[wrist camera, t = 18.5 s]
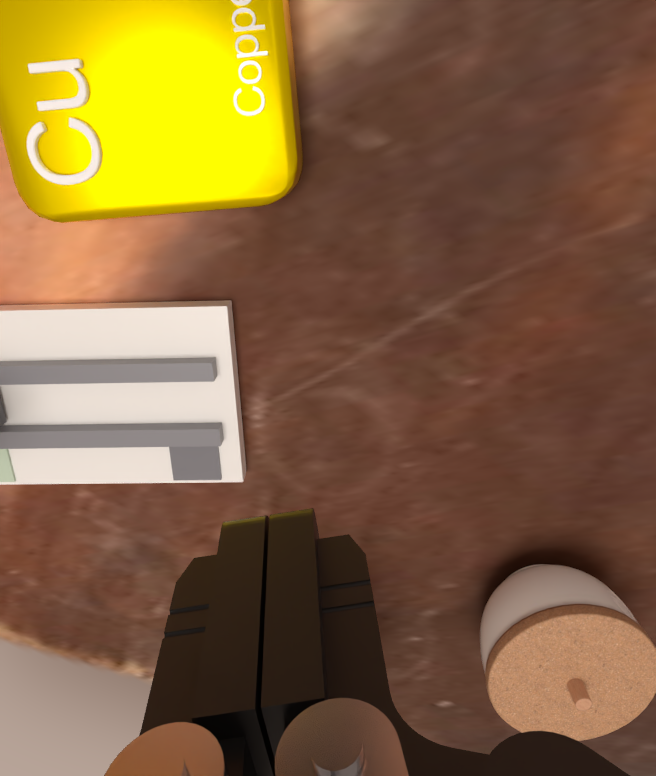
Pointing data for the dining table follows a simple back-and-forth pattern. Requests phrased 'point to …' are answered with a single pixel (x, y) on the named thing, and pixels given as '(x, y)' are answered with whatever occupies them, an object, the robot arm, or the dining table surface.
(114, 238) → the dining table surface
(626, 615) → the lidded jar
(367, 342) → the dining table surface
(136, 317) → the switch panel
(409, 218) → the dining table surface
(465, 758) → the robot arm
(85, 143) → the element tile
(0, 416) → the lever
